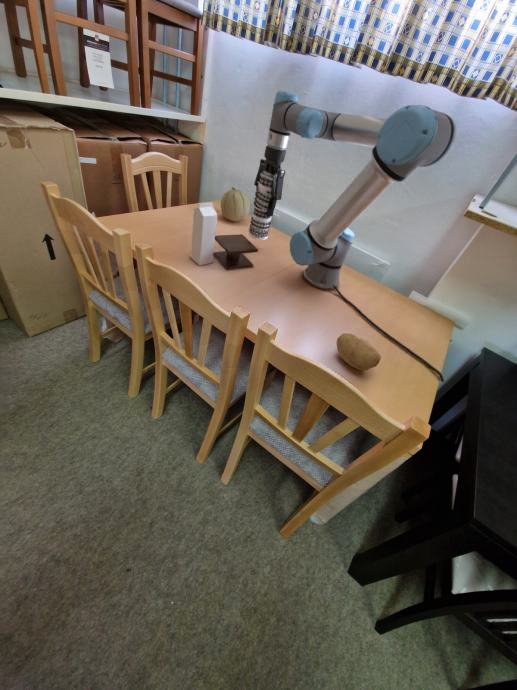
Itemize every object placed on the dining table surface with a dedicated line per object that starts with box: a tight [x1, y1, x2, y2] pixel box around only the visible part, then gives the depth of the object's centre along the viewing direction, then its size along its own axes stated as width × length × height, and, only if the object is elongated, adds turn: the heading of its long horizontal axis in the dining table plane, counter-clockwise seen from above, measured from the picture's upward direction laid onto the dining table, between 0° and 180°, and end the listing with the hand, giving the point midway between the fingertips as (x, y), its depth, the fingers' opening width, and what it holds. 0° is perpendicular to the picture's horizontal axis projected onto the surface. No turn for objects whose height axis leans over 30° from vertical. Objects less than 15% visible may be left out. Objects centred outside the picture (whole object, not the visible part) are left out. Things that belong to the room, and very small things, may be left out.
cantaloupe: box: [220, 186, 251, 223], centre depth 146 cm, size 15×15×15 cm
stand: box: [213, 233, 259, 271], centre depth 118 cm, size 13×13×8 cm
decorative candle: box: [248, 170, 277, 241], centre depth 120 cm, size 9×9×25 cm
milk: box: [190, 201, 218, 266], centre depth 108 cm, size 6×6×22 cm
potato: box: [336, 332, 382, 372], centre depth 89 cm, size 10×14×8 cm
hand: (263, 210), depth 121 cm, fingers closed on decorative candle, 9 cm apart
